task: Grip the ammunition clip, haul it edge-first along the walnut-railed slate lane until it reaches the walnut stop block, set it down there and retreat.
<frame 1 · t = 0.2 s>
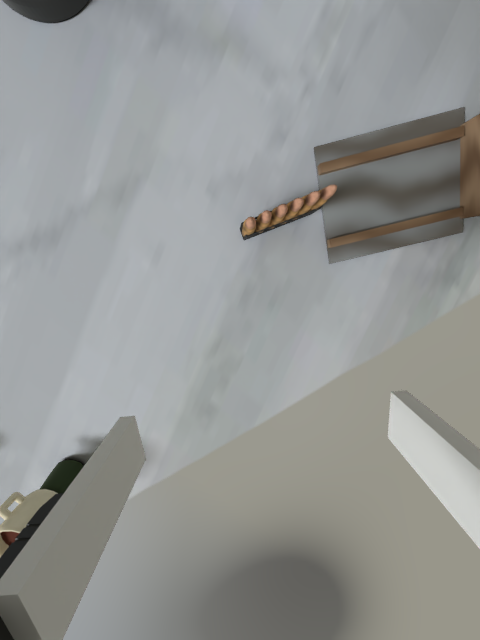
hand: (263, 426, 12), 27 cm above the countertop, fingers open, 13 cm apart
ammunition clip: (275, 221, 35), on the countertop
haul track: (390, 192, 34), on the countertop
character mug: (74, 468, 47), on the countertop
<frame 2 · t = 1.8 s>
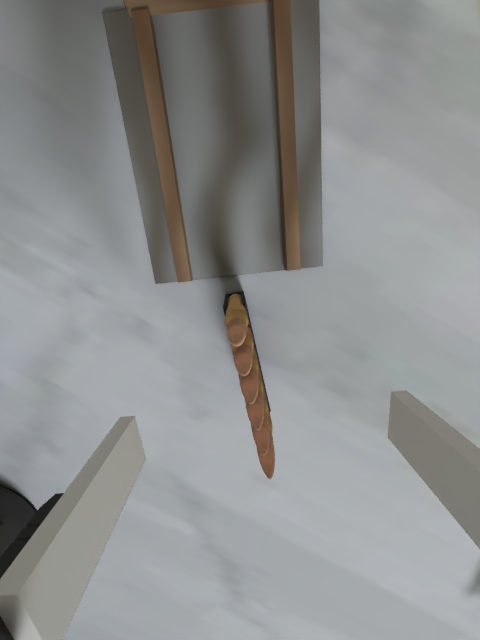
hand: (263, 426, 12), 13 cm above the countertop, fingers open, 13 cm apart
ammunition clip: (245, 341, 25), on the countertop
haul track: (226, 157, 20), on the countertop
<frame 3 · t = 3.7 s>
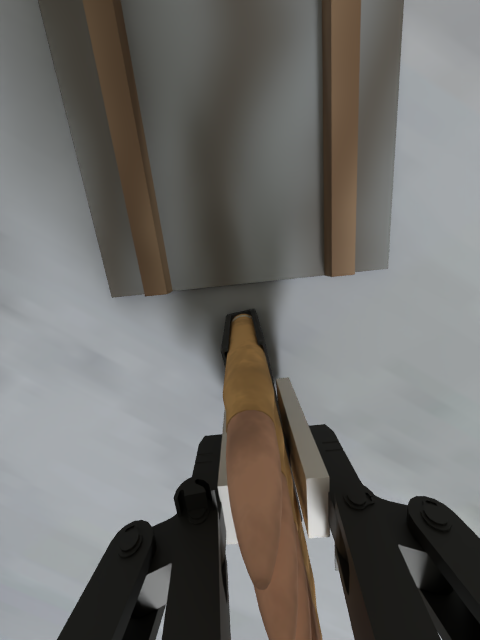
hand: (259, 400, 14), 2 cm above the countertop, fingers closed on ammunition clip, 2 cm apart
ammunition clip: (257, 385, 16), on the countertop, touching gripper
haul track: (228, 75, 11), on the countertop
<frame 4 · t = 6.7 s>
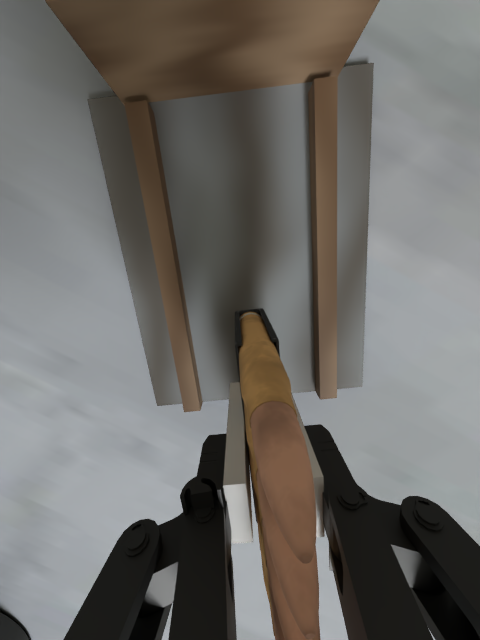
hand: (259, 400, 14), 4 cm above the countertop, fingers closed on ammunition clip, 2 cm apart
ammunition clip: (256, 383, 16), point 2 cm above the countertop, touching gripper
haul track: (245, 264, 16), on the countertop
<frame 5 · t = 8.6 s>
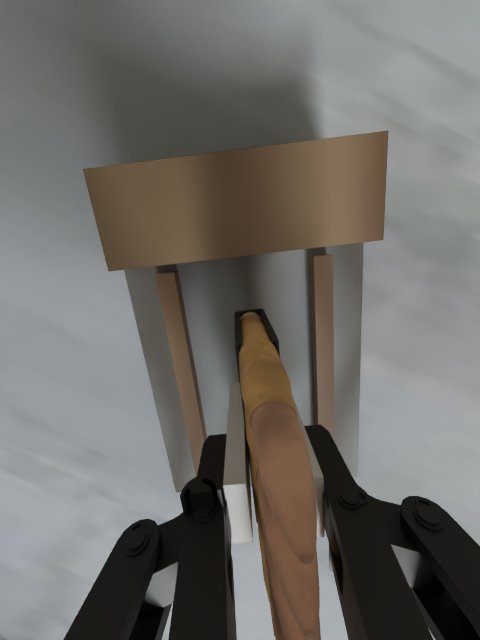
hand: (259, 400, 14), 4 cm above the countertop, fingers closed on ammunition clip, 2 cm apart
ammunition clip: (256, 384, 16), point 2 cm above the countertop, touching gripper
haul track: (255, 380, 18), on the countertop
when the fingers open (3 cm above the countertop, at t = 10.1 s): ammunition clip stays where it is, resting on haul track.
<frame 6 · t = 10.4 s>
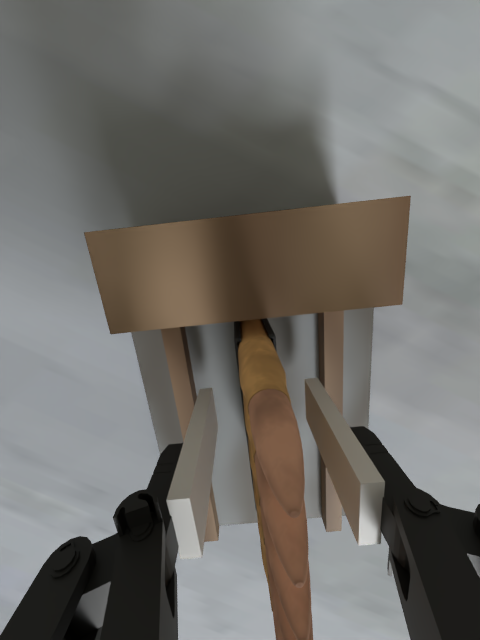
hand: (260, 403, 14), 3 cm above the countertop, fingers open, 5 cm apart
ammunition clip: (255, 379, 17), resting on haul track
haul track: (260, 418, 18), on the countertop
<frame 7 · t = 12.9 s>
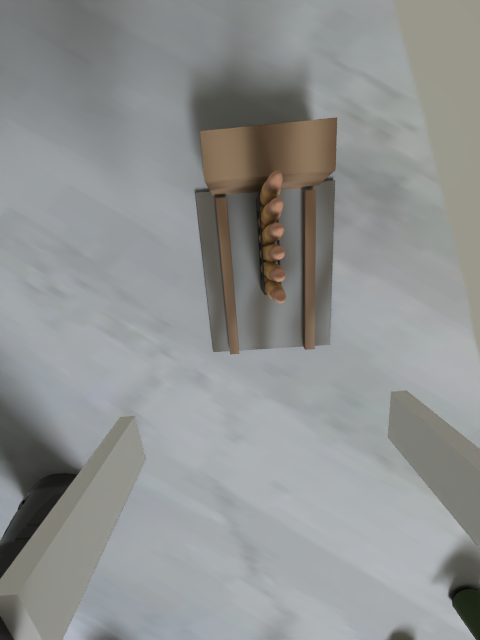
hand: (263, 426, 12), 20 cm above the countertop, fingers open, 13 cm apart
ammunition clip: (265, 246, 29), resting on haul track
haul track: (267, 274, 30), on the countertop
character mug: (463, 593, 46), on the countertop
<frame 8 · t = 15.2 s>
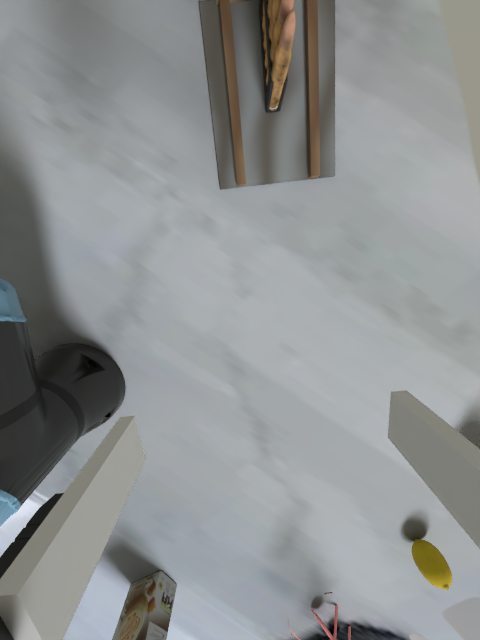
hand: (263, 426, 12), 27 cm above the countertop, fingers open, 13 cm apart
ammunition clip: (269, 63, 29), resting on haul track
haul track: (271, 97, 31), on the countertop
figurine: (317, 622, 59), on the countertop
coffee box: (154, 582, 55), on the countertop
lemon: (415, 538, 52), on the countertop
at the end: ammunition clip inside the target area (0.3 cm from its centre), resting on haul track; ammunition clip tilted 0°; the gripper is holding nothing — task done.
